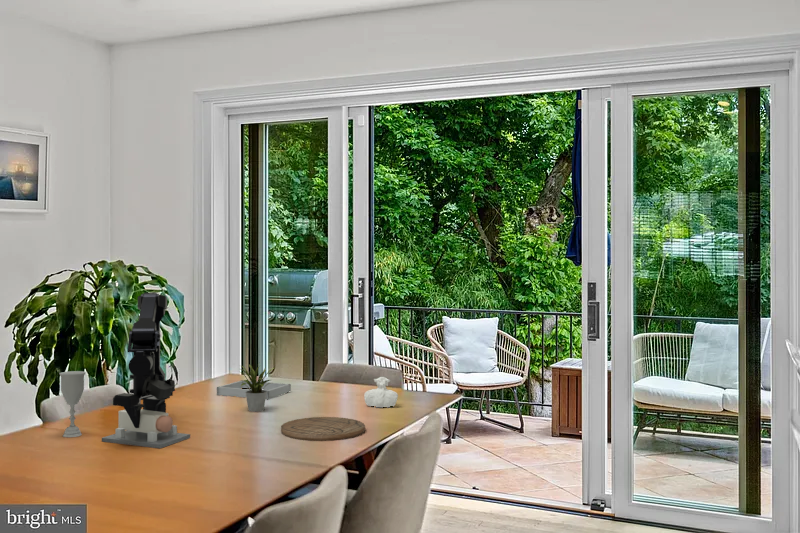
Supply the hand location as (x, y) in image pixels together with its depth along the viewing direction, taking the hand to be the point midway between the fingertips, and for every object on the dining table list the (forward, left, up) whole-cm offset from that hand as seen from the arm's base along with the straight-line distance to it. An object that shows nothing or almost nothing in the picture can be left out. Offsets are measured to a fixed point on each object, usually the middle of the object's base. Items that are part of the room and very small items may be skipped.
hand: (143, 425), depth 210 cm
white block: (0, 0, -1) cm, 1 cm away
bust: (+44, +70, -4) cm, 83 cm away
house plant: (+6, +47, -4) cm, 47 cm away
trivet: (+42, +29, -4) cm, 51 cm away
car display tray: (-10, +74, -4) cm, 75 cm away
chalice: (-22, -4, -4) cm, 23 cm away
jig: (+1, 0, -4) cm, 4 cm away
